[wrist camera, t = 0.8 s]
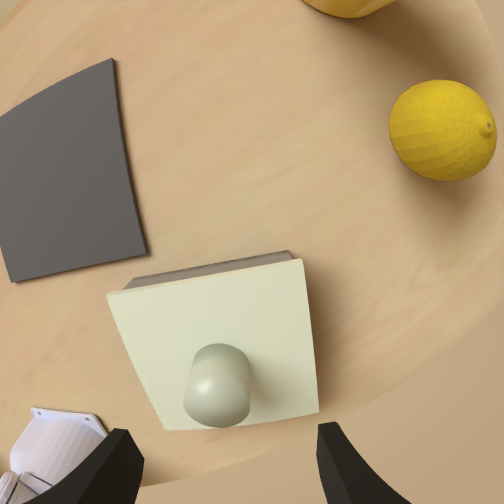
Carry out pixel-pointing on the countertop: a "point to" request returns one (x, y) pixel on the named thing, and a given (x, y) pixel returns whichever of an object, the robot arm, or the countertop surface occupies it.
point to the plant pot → (348, 7)
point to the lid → (222, 346)
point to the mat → (67, 179)
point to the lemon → (443, 130)
